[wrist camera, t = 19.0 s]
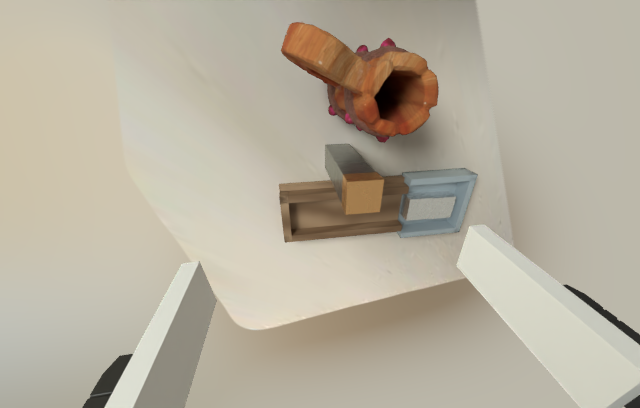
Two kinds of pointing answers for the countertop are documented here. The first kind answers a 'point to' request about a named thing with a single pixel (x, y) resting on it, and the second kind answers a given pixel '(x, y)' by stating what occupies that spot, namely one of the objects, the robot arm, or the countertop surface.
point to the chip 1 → (416, 205)
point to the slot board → (336, 211)
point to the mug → (366, 81)
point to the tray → (439, 180)
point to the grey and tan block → (353, 180)
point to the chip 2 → (441, 204)
